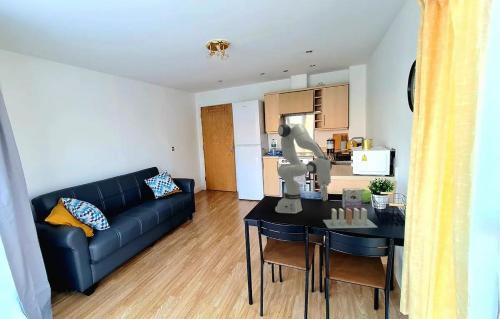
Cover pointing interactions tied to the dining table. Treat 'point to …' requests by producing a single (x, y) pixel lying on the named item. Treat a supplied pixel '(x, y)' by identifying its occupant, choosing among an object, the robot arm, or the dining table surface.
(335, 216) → the domino
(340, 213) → the domino
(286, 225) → the dining table surface
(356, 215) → the domino
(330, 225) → the mat
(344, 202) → the candy box
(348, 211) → the domino
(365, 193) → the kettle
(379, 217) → the dining table surface
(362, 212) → the domino
